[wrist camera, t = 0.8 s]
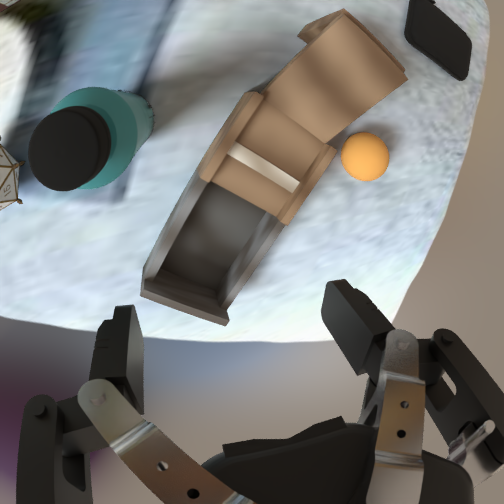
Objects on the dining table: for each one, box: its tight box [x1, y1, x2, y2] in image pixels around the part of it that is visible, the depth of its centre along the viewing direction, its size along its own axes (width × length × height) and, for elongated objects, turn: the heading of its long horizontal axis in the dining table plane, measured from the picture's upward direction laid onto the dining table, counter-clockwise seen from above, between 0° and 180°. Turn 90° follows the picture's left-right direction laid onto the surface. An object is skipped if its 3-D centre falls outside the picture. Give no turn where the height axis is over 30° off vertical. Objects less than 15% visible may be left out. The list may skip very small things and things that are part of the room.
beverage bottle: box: [28, 87, 155, 191], centre depth 19 cm, size 6×7×20 cm
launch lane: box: [140, 9, 408, 326], centre depth 29 cm, size 36×11×10 cm, turn 147°
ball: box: [341, 132, 389, 181], centre depth 33 cm, size 6×6×6 cm
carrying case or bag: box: [404, 0, 472, 81], centre depth 28 cm, size 11×3×15 cm
